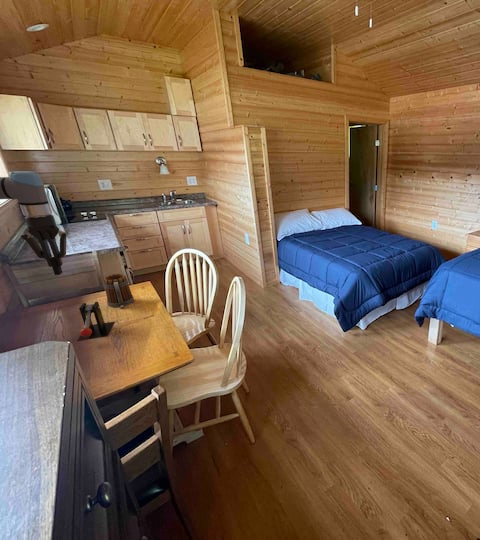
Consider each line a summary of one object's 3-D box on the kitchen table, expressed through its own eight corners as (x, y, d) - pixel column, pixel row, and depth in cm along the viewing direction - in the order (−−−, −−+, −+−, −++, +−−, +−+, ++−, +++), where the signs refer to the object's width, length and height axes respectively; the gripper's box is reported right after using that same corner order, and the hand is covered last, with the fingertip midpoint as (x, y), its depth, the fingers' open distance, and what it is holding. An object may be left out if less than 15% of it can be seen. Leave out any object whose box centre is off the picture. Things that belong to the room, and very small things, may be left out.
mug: (107, 302, 151) (99, 275, 145) (133, 297, 157) (126, 271, 152) (109, 316, 140) (101, 287, 134) (137, 309, 147) (130, 282, 141)
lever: (92, 337, 119) (89, 333, 116) (81, 339, 117) (77, 335, 115) (97, 307, 126) (94, 302, 124) (86, 308, 125) (83, 304, 122)
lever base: (108, 338, 125) (99, 309, 120) (77, 343, 121) (67, 314, 116) (115, 323, 135) (108, 296, 130) (87, 327, 131) (78, 299, 126)
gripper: (65, 212, 116) (83, 268, 125) (19, 213, 111) (41, 271, 120) (57, 217, 110) (76, 275, 119) (8, 218, 104) (32, 279, 113)
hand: (58, 273), depth 119 cm, fingers closed
